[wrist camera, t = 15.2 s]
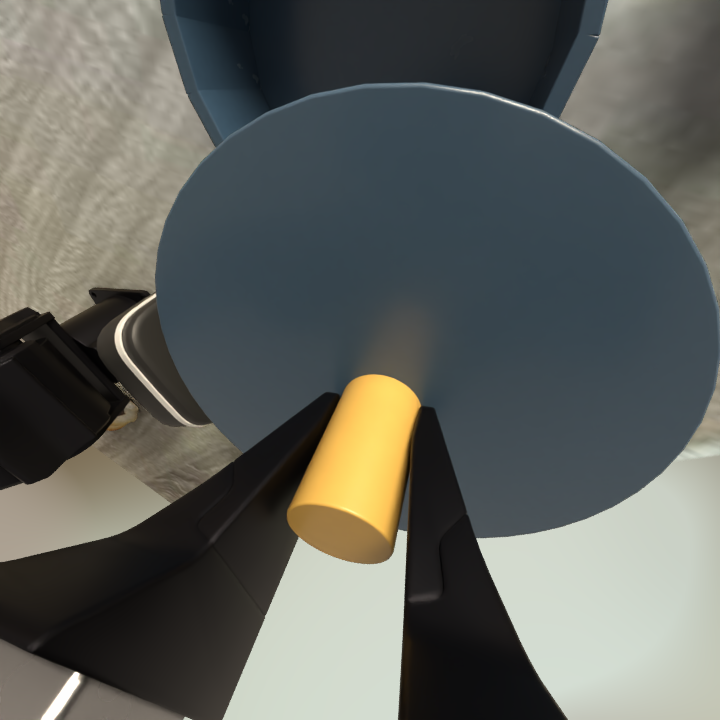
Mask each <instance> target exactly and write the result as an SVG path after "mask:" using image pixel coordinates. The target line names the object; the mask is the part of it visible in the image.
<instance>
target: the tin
mask: <svg viewBox="0 0 720 720" xmlns="http://www.w3.org/2000/svg"><path fill="white" fill-rule="evenodd" d="M607 3H608V0H160V4H161V12H162V14H163V16H162V18H163V21H164V24H165V27H166V30H167V33H168V37H169V40H170V43H171V46H172V49H173V52H174V56H175V59H176V62H177V65H178V68H179V71H180V75H181V78H182V81H183V84H184V87H185V91H186V93H187V94H188V97H189V99H190V101H191V103H192V105H193V107H194V109H195V110H196V112H197V114H198V116H199V118H200V120H201V121H202V123H203V125H204V127H205V129H206V131H207V133H208V134H209V136H210V138H211V140H212V142H213V144H214V146H215V147H218V146H219V145H220V144H221V143H222V142H223V141H224V140H225V139H226V138H227V137H228V136H229V135H231V134H232V133H234V132H236V131H237V130H239V129H240V128H242V127H244V126H245V125H247V124H248V123H250V122H252V121H253V120H255V119H256V118H258V117H260V116H261V115H263V114H264V113H266V112H268V111H271V110H273V109H276V108H278V107H281V106H283V105H286V104H288V103H291V102H293V101H296V100H299V99H301V98H304V97H306V96H309V95H311V94H316V93H321V92H326V91H331V90H336V89H341V88H346V87H351V86H356V85H361V84H374V83H417V82H426V83H433V84H440V85H447V86H454V87H461V88H467V89H474V90H481V91H486V92H489V93H492V94H495V95H498V96H501V97H504V98H507V99H510V100H513V101H516V102H519V103H523V104H526V105H529V106H532V107H535V108H538V109H541V110H543V111H545V112H547V113H549V114H551V115H553V116H555V117H556V118H558V119H559V117H560V115H561V113H562V111H563V109H564V107H565V105H566V103H567V101H568V99H569V97H570V95H571V93H572V91H573V89H574V87H575V85H576V83H577V81H578V79H579V77H580V75H581V73H582V71H583V69H584V67H585V65H586V63H587V61H588V59H589V57H590V55H591V53H592V51H593V49H594V47H595V45H596V43H597V41H598V38H599V37H598V36H599V34H600V32H601V28H602V24H603V20H604V16H605V12H606V7H607Z"/></svg>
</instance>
